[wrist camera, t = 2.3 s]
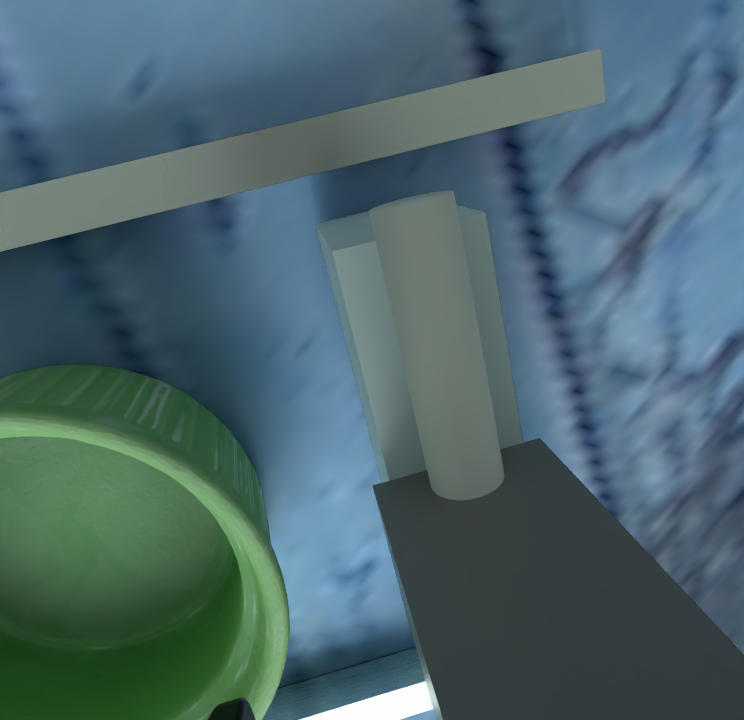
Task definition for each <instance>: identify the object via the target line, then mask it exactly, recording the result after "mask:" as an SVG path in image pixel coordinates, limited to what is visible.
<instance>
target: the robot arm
mask: <svg viewBox="0 0 744 720" xmlns="http://www.w3.org/2000/svg"><path fill="white" fill-rule="evenodd" d="M208 720H256V719H255V716H254V714H253V711H252V709H251V706H250V704H249V702H248V701H247V699H246V698H242V697H241V698H237V699H234V700H231V701H227V702H224V703H221V704H219V705H217V706H216V707H215V708H214V709H213V711H212V713H211V714H210V716H209V718H208Z"/></svg>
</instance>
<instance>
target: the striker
mask: <svg viewBox="0 0 744 720" xmlns="http://www.w3.org/2000/svg"><path fill="white" fill-rule="evenodd" d="M315 225H316V229H317V233H318V237H319V241H320V244H321V248H322V252H323V256H324V260H325V264H326V268H327V272H328V276H329V280H330V283H331V287H332V291H333V295H334V299H335V303H336V307H337V311H338V315H339V319H340V323H341V326H342V330H343V334H344V338H345V342H346V346H347V350H348V354H349V358H350V362H351V365H352V369H353V373H354V377H355V381H356V385H357V389H358V393H359V397H360V401H361V404H362V408H363V412H364V416H365V420H366V424H367V428H368V432H369V436H370V440H371V443H372V447H373V451H374V455H375V459H376V463H377V467H378V471H379V475H380V479H381V483H380V484H376V485H373V489H374V493H375V497H376V500H377V504H378V508H379V512H380V516H381V519H382V523H383V527H384V531H385V535H386V538H387V542H388V546H389V550H390V554H391V558H392V561H393V565H394V569H395V573H396V577H397V580H398V584H399V588H400V592H401V596H402V599H403V603H404V607H405V611H406V615H407V619H408V622H409V626H410V629H411V633H412V636H413V640H414V643H415V647H416V650H417V653H418V657H419V660H420V664H421V667H422V671H423V674H424V678H425V681H426V685H427V688H428V691H429V695H430V698H431V702H432V705H433V709H434V712H435V716H436V719H437V720H744V654H743V653H742V652H741V651H740V650H739V649H738V648H737V647H736V646H735V645H734V644H733V643H732V642H731V640H730V639H729V638H728V637H727V636H726V635H725V634H724V633H723V632H722V631H721V630H720V629H719V628H718V627H717V626H716V625H715V624H714V622H713V621H712V620H711V619H710V618H709V617H708V616H707V615H706V614H705V613H704V612H703V611H702V610H701V609H700V608H699V607H698V605H697V604H696V603H695V602H694V601H693V600H692V599H691V598H690V597H689V596H688V595H687V594H686V593H685V592H684V591H683V590H682V589H681V587H680V586H679V585H678V584H677V583H676V582H675V581H674V580H673V579H672V578H671V577H670V576H669V575H668V574H667V573H666V572H665V571H664V569H663V568H662V567H661V566H660V565H659V564H658V563H657V562H656V561H655V560H654V559H653V558H652V557H651V556H650V555H649V554H648V552H647V551H646V550H645V549H644V548H643V547H642V546H641V545H640V544H639V543H638V542H637V541H636V540H635V539H634V538H633V537H632V536H631V534H630V533H629V532H628V531H627V530H626V529H625V528H624V527H623V526H622V525H621V524H620V523H619V522H618V521H617V520H616V519H615V518H614V516H613V515H612V514H611V513H610V512H609V511H608V510H607V509H606V508H605V507H604V506H603V505H602V504H601V503H600V502H599V501H598V499H597V498H596V497H595V496H594V495H593V494H592V493H591V492H590V491H589V490H588V489H587V488H586V487H585V486H584V485H583V484H582V483H581V481H580V480H579V479H578V478H577V477H576V476H575V475H574V474H573V473H572V472H571V471H570V470H569V469H568V468H567V467H566V466H565V465H564V463H563V462H562V461H561V460H560V459H559V458H558V457H557V456H556V455H555V454H554V453H553V452H552V451H551V450H550V449H549V448H548V446H547V445H546V444H545V443H544V442H543V441H542V440H541V439H540V438H539V439H535V440H532V441H528V442H525V443H523V438H522V432H521V426H520V420H519V414H518V408H517V401H516V395H515V389H514V383H513V377H512V371H511V365H510V359H509V352H508V346H507V340H506V334H505V328H504V322H503V316H502V310H501V303H500V297H499V291H498V285H497V279H496V273H495V267H494V261H493V254H492V248H491V242H490V236H489V230H488V224H487V218H486V212H482V211H478V210H475V209H471V208H467V207H463V206H459V205H456V200H455V194H454V191H438V192H431V193H426V194H420V195H416V196H411V197H407V198H403V199H399V200H395V201H392V202H388V203H385V204H382V205H379V206H376V207H374V208H372V209H370V210H369V211H366V212H362V213H358V214H354V215H350V216H346V217H342V218H338V219H334V220H330V221H326V222H322V223H318V224H315Z"/></svg>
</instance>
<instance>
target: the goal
mask: <svg viewBox="0 0 744 720" xmlns="http://www.w3.org/2000/svg"><path fill="white" fill-rule="evenodd" d="M605 102H606V99H605V88H604V77H603V66H602V56H601V48H599V49H595V50H591V51H587V52H583V53H579V54H574V55H570V56H566V57H562V58H558V59H554V60H550V61H545V62H541V63H537V64H533V65H529V66H525V67H520V68H516V69H512V70H508V71H504V72H500V73H495V74H491V75H487V76H483V77H479V78H475V79H470V80H466V81H462V82H458V83H454V84H450V85H445V86H441V87H437V88H433V89H429V90H425V91H420V92H416V93H412V94H408V95H404V96H400V97H396V98H391V99H387V100H383V101H379V102H375V103H371V104H366V105H362V106H358V107H354V108H350V109H346V110H341V111H337V112H333V113H329V114H325V115H321V116H316V117H312V118H308V119H304V120H300V121H296V122H291V123H287V124H283V125H279V126H275V127H271V128H266V129H262V130H258V131H254V132H250V133H246V134H242V135H237V136H233V137H229V138H225V139H221V140H217V141H212V142H208V143H204V144H200V145H196V146H192V147H187V148H183V149H179V150H175V151H171V152H167V153H162V154H158V155H154V156H150V157H146V158H142V159H137V160H133V161H129V162H125V163H121V164H117V165H112V166H108V167H104V168H100V169H96V170H92V171H88V172H83V173H79V174H75V175H71V176H67V177H63V178H58V179H54V180H50V181H46V182H42V183H38V184H33V185H29V186H25V187H21V188H17V189H13V190H8V191H4V192H0V252H1V251H5V250H9V249H13V248H17V247H21V246H25V245H30V244H34V243H38V242H42V241H46V240H50V239H54V238H58V237H62V236H66V235H70V234H74V233H78V232H82V231H86V230H90V229H94V228H98V227H103V226H107V225H111V224H115V223H119V222H123V221H127V220H131V219H135V218H139V217H143V216H147V215H151V214H155V213H159V212H163V211H167V210H171V209H176V208H180V207H184V206H188V205H192V204H196V203H200V202H204V201H208V200H212V199H216V198H220V197H224V196H228V195H232V194H236V193H240V192H244V191H248V190H253V189H257V188H261V187H265V186H269V185H273V184H277V183H281V182H285V181H289V180H293V179H297V178H301V177H305V176H309V175H313V174H317V173H321V172H326V171H330V170H334V169H338V168H342V167H346V166H350V165H354V164H358V163H362V162H366V161H370V160H374V159H378V158H382V157H386V156H390V155H394V154H399V153H403V152H407V151H411V150H415V149H419V148H423V147H427V146H431V145H435V144H439V143H443V142H447V141H451V140H455V139H459V138H463V137H467V136H472V135H476V134H480V133H484V132H488V131H492V130H496V129H500V128H504V127H508V126H512V125H516V124H520V123H524V122H528V121H532V120H536V119H540V118H545V117H549V116H553V115H557V114H561V113H565V112H569V111H573V110H577V109H581V108H585V107H589V106H593V105H597V104H601V103H605ZM431 709H433V705H432V702H431V698H430V695H429V691H428V688H427V685H426V681H425V678H424V674H423V671H422V667H421V664H420V660H419V657H418V653H417V650H416V647H415V648H412V649H409V650H406V651H402V652H399V653H396V654H392V655H389V656H386V657H382V658H379V659H376V660H372V661H369V662H366V663H363V664H359V665H356V666H353V667H349V668H346V669H343V670H339V671H336V672H333V673H329V674H326V675H323V676H320V677H316V678H313V679H310V680H306V681H303V682H300V683H296V684H293V685H290V686H286V687H283V688H280V689H277V691H276V693H275V696H274V698H273V700H272V702H271V704H270V706H269V708H268V710H267V712H266V714H265V715H264V717H263V719H262V720H399V719H402V718H406V717H409V716H412V715H415V714H418V713H422V712H425V711H428V710H431Z"/></svg>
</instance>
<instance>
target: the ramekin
mask: <svg viewBox="0 0 744 720" xmlns="http://www.w3.org/2000/svg"><path fill="white" fill-rule="evenodd" d="M289 634H290V623H289V607H288V600H287V594H286V589H285V584H284V579H283V576H282V572H281V569H280V566H279V563H278V560H277V558H276V555H275V552H274V550H273V547H272V545H271V542H270V534H269V526H268V520H267V514H266V509H265V503H264V497H263V492H262V489H261V486H260V483H259V480H258V477H257V474H256V471H255V469H254V467H253V465H252V464H251V462H250V460H249V459H248V457H247V455H246V453H245V451H244V449H243V447H242V446H241V444H240V443H239V442H238V441H237V439H236V438H235V437H234V435H233V434H232V433H231V431H230V430H229V429H228V428H227V427H226V426H225V425H224V424H223V423H222V422H221V421H220V420H219V419H218V418H217V417H216V416H215V415H214V414H213V413H212V412H210V411H209V410H208V409H206V408H205V407H204V406H202V405H201V404H200V403H199V402H197V401H196V400H195V399H194V398H192V397H191V396H189V395H188V394H186V393H184V392H183V391H181V390H180V389H178V388H176V387H174V386H172V385H170V384H168V383H165V382H163V381H160V380H158V379H155V378H152V377H149V376H146V375H144V374H138V373H135V372H131V371H129V370H126V369H121V368H114V367H106V366H99V365H80V364H69V365H55V366H45V367H40V368H36V369H31V370H26V371H22V372H18V373H15V374H13V375H10V376H7V377H4V378H2V379H0V720H208V718H209V716H210V714H211V713H212V711H213V709H214V708H215V707H216V706H217V705H219V704H221V703H224V702H227V701H231V700H234V699H237V698H241V697H242V698H246V699H247V701H248V702H249V704H250V706H251V709H252V711H253V714H254V716H255V719H256V720H262V719H263V717H264V715H265V714H266V712H267V710H268V708H269V706H270V704H271V702H272V700H273V698H274V696H275V693H276V691H277V688H278V686H279V684H280V680H281V677H282V674H283V670H284V666H285V662H286V658H287V651H288V645H289Z"/></svg>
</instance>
